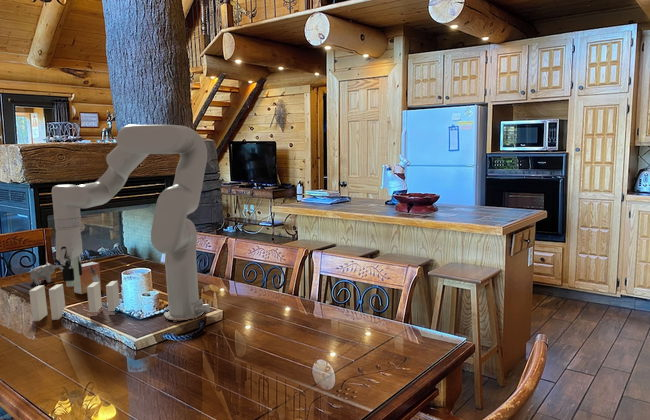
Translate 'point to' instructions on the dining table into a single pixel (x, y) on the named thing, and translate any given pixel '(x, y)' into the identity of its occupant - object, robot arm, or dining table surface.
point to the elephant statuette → (43, 273)
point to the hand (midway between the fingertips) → (73, 277)
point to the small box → (88, 277)
